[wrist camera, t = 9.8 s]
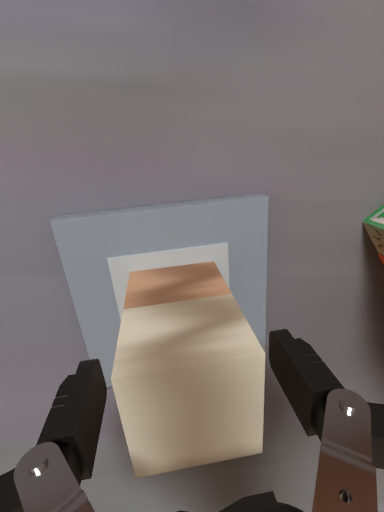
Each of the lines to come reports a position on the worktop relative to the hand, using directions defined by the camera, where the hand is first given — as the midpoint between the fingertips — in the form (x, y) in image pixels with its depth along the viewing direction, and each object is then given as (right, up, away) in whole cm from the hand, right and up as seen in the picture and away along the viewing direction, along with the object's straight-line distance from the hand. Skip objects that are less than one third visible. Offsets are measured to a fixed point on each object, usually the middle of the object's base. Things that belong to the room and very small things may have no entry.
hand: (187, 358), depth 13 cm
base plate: (-1, +2, +5) cm, 6 cm away
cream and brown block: (-1, +2, +4) cm, 5 cm away
